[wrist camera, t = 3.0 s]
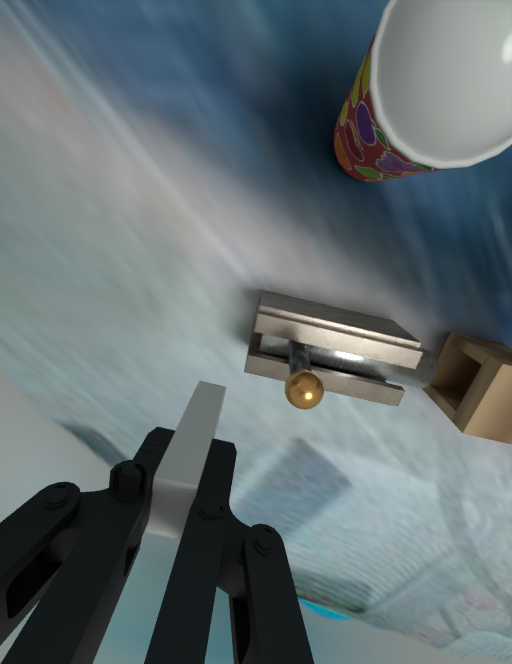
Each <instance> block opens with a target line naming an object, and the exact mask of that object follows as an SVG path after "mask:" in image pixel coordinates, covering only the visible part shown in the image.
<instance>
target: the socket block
mask: <svg viewBox="0 0 512 664" xmlns="http://www.w3.org/2000/svg"><path fill="white" fill-rule="evenodd" d="M436 362H437V368H436V373H435V376H434V378H433V380H432V382H431V383H430V384H429V385H428V386H427V387H425V388H423V390H424V391H425V392H426V393H427V394H428V396H429V397H430V398H431V399H432V400H433V401H434V402H435V403H436V404H437V406H438V407H439V408H440V409H441V410H442V411H443V412H444V413H445V414H446V415H447V417H448V418H449V419H450V420H451V421H452V422H453V423H454V424H455V425H456V427H457V428H458V429H459V430H460V431H461V432H462V433H464V434H468V435H472V436H477V437H481V438H486V439H490V440H495V441H499V442H503V443H508V444H512V348H510V347H508V346H506V345H504V344H499V343H495V342H491V341H487V340H483V339H478V338H474V337H470V336H466V335H462V334H458V333H453V332H450V334H449V336H448V338H447V340H446V342H445V344H444V346H443V348H442V350H441V352H440V354H439V356H438V359H437V361H436Z"/></svg>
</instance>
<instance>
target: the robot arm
mask: <svg viewBox="0 0 512 664" xmlns="http://www.w3.org/2000/svg"><path fill="white" fill-rule="evenodd" d="M225 391H226V387H224V386H220V385H216V384H211V383H207V382H203V381H199V383H198V385H197V387H196V389H195V391H194V393H193V395H192V397H191V400H190V402H189V404H188V406H187V408H186V410H185V412H184V414H183V416H182V418H181V421H180V423H179V425H178V427H177V429H176V431H174V430H170V429H166V428H161V427H156V428H155V429H154V430H152V431H151V432H149V433H148V435H147V437H146V438H145V440H144V442H143V443H142V445H141V447H140V448H139V451H138V452H137V453H136V455H135V457H134V458H133V460H127V461H123V462H121V463H119V464H117V465H115V466H114V467H113V468H112V470H111V471H110V482H109V488H107V489H104V490H100V491H94V492H80V489H79V487H78V486H76V485H75V484H74V483H70V482H58V483H55V484H52V485H49V486H47V487H46V488H44V489H42V490H41V491H39V492H38V493H37V494H36V495H34V496H33V497H32V498H31V499H29V500H28V501H27V502H26V503H24V504H23V505H22V506H21V507H20V508H18V509H17V510H16V511H14V512H13V513H12V514H11V515H9V516H8V517H7V518H6V519H5V520H3V521H2V522H1V523H0V645H1V644H2V643H3V642H4V641H5V640H6V639H7V637H8V636H9V635H10V634H11V632H13V630H14V629H15V628H16V627H17V626H18V625H19V623H20V622H21V621H22V620H23V619H24V618H25V616H26V615H27V614H28V613H29V612H30V611H31V610H32V608H33V607H34V606H35V605H36V604H37V603H38V601H39V600H40V601H39V603H38V604H37V606H36V608H35V609H34V611H33V612H32V614H31V616H30V617H29V619H28V620H27V622H26V624H25V625H24V627H23V629H22V630H21V632H20V633H19V635H18V637H17V638H16V640H15V641H14V643H13V645H12V647H11V648H10V650H9V651H8V653H7V655H6V656H5V658H4V659H3V661H2V662H1V664H93V661H94V658H95V656H96V654H97V651H98V649H99V646H100V644H101V642H102V639H103V637H104V634H105V632H106V629H107V627H108V624H109V622H110V619H111V617H112V615H113V612H114V610H115V607H116V605H117V602H118V600H119V598H120V595H121V593H122V590H123V588H124V585H125V583H126V581H127V578H128V576H129V573H130V571H131V568H132V566H133V564H134V561H135V558H136V556H137V554H138V551H139V549H140V544H141V539H142V535H143V533H144V531H145V528H146V526H147V528H146V532H147V533H151V534H156V535H161V536H165V537H170V538H174V539H179V540H181V541H180V544H179V547H178V551H177V554H176V558H175V561H174V565H173V568H172V571H171V575H170V578H169V581H168V584H167V588H166V591H165V595H164V598H163V601H162V605H161V608H160V611H159V615H158V618H157V621H156V625H155V628H154V632H153V635H152V638H151V642H150V645H149V649H148V652H147V655H146V659H145V662H144V664H204V662H205V656H206V649H207V643H208V637H209V631H210V624H211V617H212V611H213V606H214V599H215V593H216V587H219V588H220V589H222V590H223V591H225V592H226V593H227V594H229V607H230V619H231V632H232V644H233V657H234V664H314V661H313V657H312V653H311V649H310V645H309V641H308V637H307V634H306V629H305V625H304V622H303V618H302V614H301V610H300V606H299V602H298V598H297V594H296V590H295V586H294V582H293V578H292V574H291V571H290V567H289V563H288V559H287V555H286V551H285V547H284V543H283V541H282V538H281V536H280V534H279V533H278V532H277V531H276V530H275V529H274V528H272V527H270V526H269V525H265V524H256V525H253V526H252V527H251V528H250V527H249V526H247V525H245V524H244V523H242V522H241V521H239V520H238V519H237V518H236V517H235V516H234V515H233V513H232V511H231V509H230V506H229V498H230V492H231V485H232V479H233V473H234V467H235V461H236V454H237V451H236V448H235V445H234V443H231V442H226V441H222V440H218V439H214V438H215V434H216V430H217V427H218V422H219V418H220V413H221V409H222V404H223V400H224V396H225Z"/></svg>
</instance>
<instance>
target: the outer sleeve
mask: <svg viewBox="0 0 512 664" xmlns="http://www.w3.org/2000/svg"><path fill="white" fill-rule="evenodd" d="M262 334H266V335H271V336H275V337H279V338H284V339H288V340H292V341H296V342H301V343H305V344H309V345H314V346H318V347H322V348H326V349H331V350H335V351H339V352H344V353H348V354H352V355H356V356H361V357H365V358H369V359H374V360H378V361H382V362H386V363H391V364H395V365H399V366H404V367H408V368H412V369H416V367H417V365H418V362H419V360H420V358H421V356H422V354H423V352H422V351H421V350H420V349H419V347H420V345H421V343H420V342H419V341H418V340H416V339H415V338H414V337H413V336H412V335H410V334H409V333H408V332H407V331H405V330H404V329H403V328H402V327H400V326H399V325H398V324H397V323H396V322H394V321H391V320H386V319H382V318H378V317H374V316H370V315H366V314H361V313H357V312H353V311H349V310H345V309H340V308H336V307H332V306H328V305H324V304H319V303H315V302H311V301H307V300H303V299H298V298H294V297H290V296H286V295H282V294H277V293H273V292H269V291H265V290H262V293H261V297H260V301H259V305H258V310H257V314H256V318H255V322H254V326H253V330H252V334H251V339H250V343H249V347H248V353H247V358H246V364H245V369H244V372H246V373H251V374H255V375H260V376H264V377H268V378H273V379H277V380H281V381H287V379H288V377H289V376H290V369H289V361H288V358H287V357H283V356H279V355H274V354H270V353H266V352H262V351H259V347H260V341H261V337H262ZM310 367H311V371H312V372H314V373H315V374H317V375H318V376H319V378H320V379H321V381H322V383H323V386H324V390H325V391H330V392H334V393H338V394H343V395H347V396H352V397H356V398H360V399H365V400H369V401H373V402H378V403H382V404H387V405H391V406H393V405H394V406H398V405H399V403H400V401H401V399H402V397H403V394H404V392H405V391H404V389H403V388H402V387H401V386H397V385H393V384H389V383H386V381H385V380H383V379H378V378H374V377H370V376H365V375H361V374H357V373H352V372H348V371H344V370H339V369H335V368H331V367H326V366H322V365H318V364H313V363H310Z"/></svg>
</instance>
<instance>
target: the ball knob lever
mask: <svg viewBox="0 0 512 664" xmlns="http://www.w3.org/2000/svg"><path fill="white" fill-rule="evenodd" d="M419 349H420V350H421V351H422V352H423V354H422V356H421V358H420V360H419V362H418V365H417V367H416V369H412V368H408V367H404V366H399V365H395V364H391V363H386V362H382V361H378V360H374V359H369V358H365V357H361V356H356V355H352V354H348V353H344V352H339V351H335V350H331V349H326V348H322V347H318V346H314V345H309V344H305V343H301V342H296V341H292V340H288V339H284V338H279V337H275V336H271V335H266V334H262V337H261V341H260V347H259V351H262V352H266V353H270V354H274V355H279V356H283V357H287V358H288V361H289V369H290V376H289V377H288V379H287V381H286V383H285V395H286V398H287V399H288V401H289V402H290V403H291V404H292V405H293V406H295V407H296V408H299V409H311V408H313V407H315V406H317V405H318V404H319V403H320V401H321V400H322V398H323V395H324V386H323V383H322V381H321V379H320V378H319V376H318V375H317V374H315V373H314V372H312V371H311V367H310V363H313V364H318V365H322V366H326V367H331V368H335V369H339V370H344V371H348V372H352V373H357V374H361V375H365V376H370V377H374V378H378V379H383V380H387V381H391V382H396V383H400V384H404V385H409V386H413V387H417V388H425V387H427V386H428V385H429V384H430V383H431V382H432V380H433V378H434V376H435V373H436V368H437V362H436V357H435V355H434V353H433V352H432V351H430V350H427V349H422V348H419Z"/></svg>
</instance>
